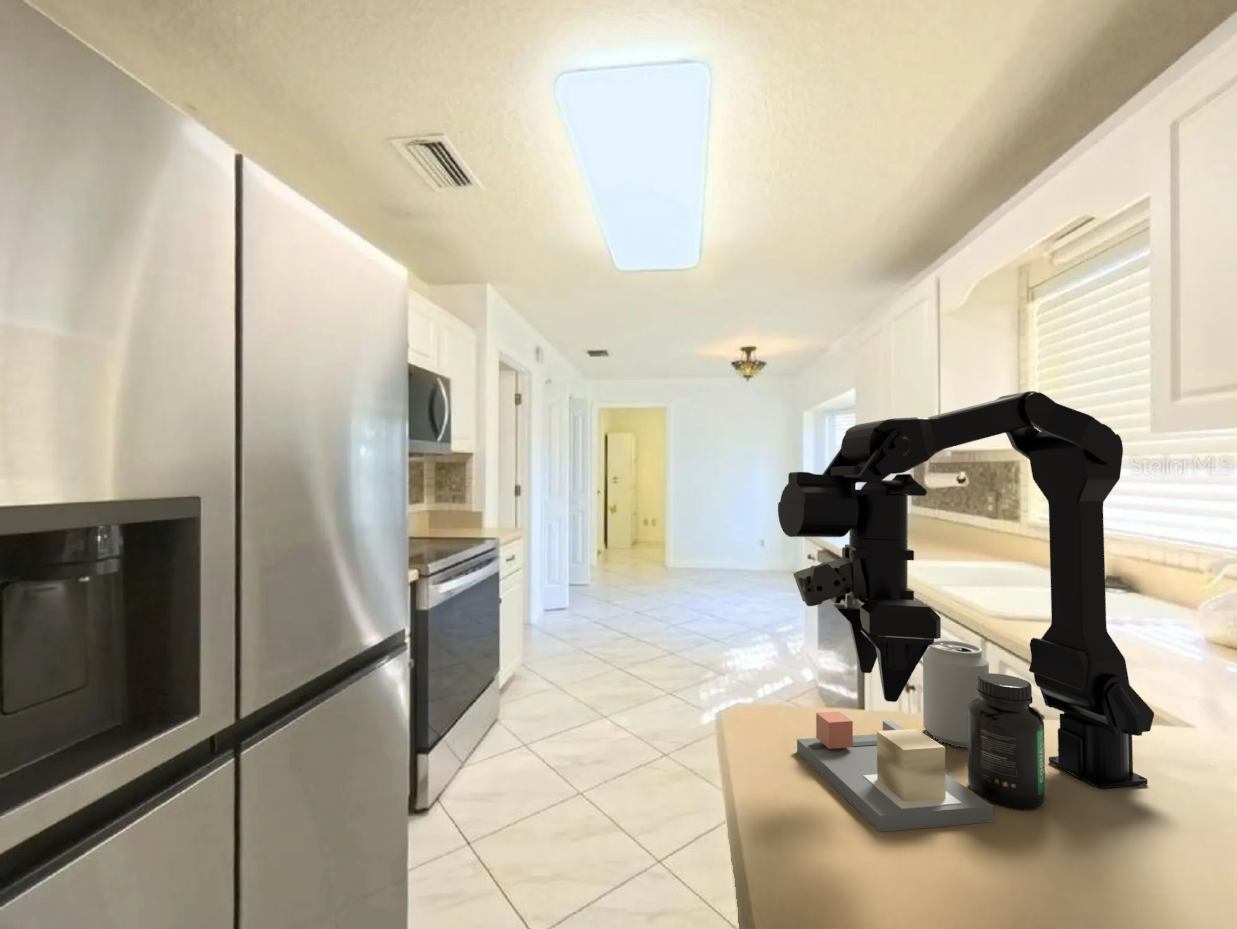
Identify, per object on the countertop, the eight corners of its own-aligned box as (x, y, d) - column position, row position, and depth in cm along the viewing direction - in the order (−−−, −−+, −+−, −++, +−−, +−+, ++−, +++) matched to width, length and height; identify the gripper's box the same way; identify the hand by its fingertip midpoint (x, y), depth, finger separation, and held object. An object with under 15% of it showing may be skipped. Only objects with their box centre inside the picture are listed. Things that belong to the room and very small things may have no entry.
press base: (886, 745, 74) (886, 717, 74) (993, 821, 57) (992, 784, 57) (797, 751, 72) (797, 722, 72) (880, 831, 55) (879, 793, 55)
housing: (877, 779, 62) (876, 730, 62) (916, 776, 63) (915, 728, 63) (904, 801, 58) (903, 749, 58) (945, 798, 58) (945, 747, 59)
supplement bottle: (1062, 810, 59) (1060, 689, 60) (1000, 814, 59) (999, 691, 59) (1009, 777, 66) (1008, 669, 67) (953, 780, 65) (952, 670, 66)
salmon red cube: (839, 736, 72) (839, 711, 72) (852, 747, 69) (852, 721, 69) (816, 737, 72) (816, 712, 72) (828, 748, 69) (828, 722, 69)
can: (1000, 753, 72) (998, 654, 73) (933, 747, 74) (932, 650, 74) (976, 728, 80) (975, 639, 80) (916, 723, 81) (915, 635, 82)
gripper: (788, 529, 73) (787, 656, 73) (815, 542, 55) (813, 712, 54) (882, 532, 72) (882, 662, 71) (943, 547, 53) (943, 722, 53)
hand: (877, 685), depth 62 cm, fingers open, 9 cm apart
